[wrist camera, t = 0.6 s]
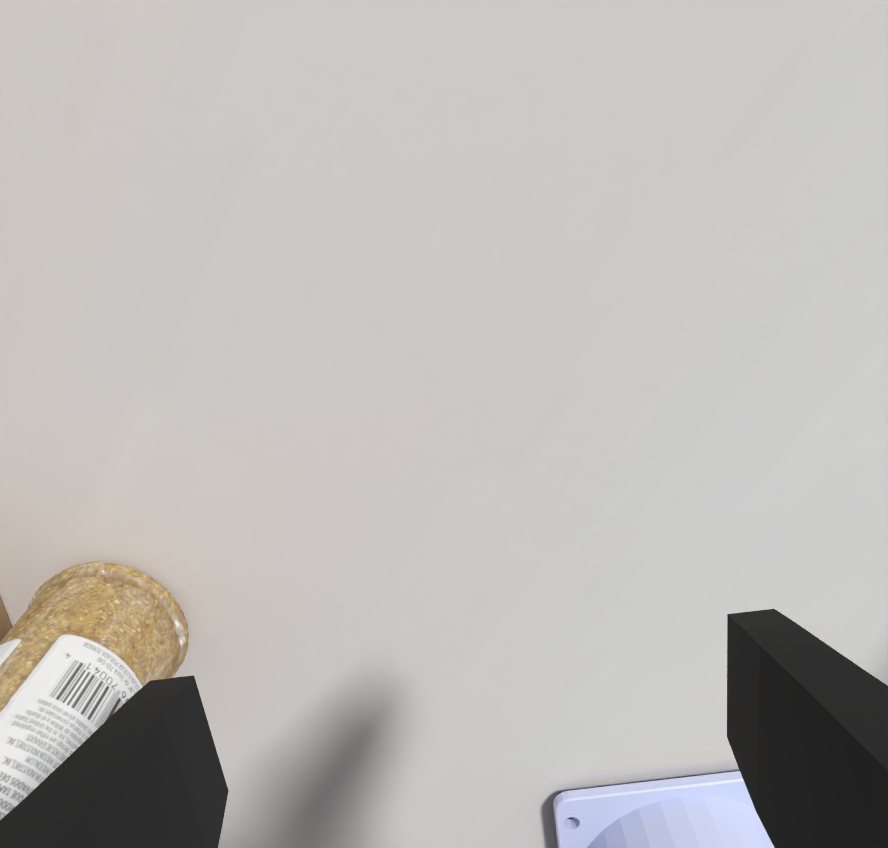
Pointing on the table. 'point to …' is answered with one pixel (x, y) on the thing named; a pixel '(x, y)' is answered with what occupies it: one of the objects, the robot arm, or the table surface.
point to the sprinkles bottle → (79, 665)
